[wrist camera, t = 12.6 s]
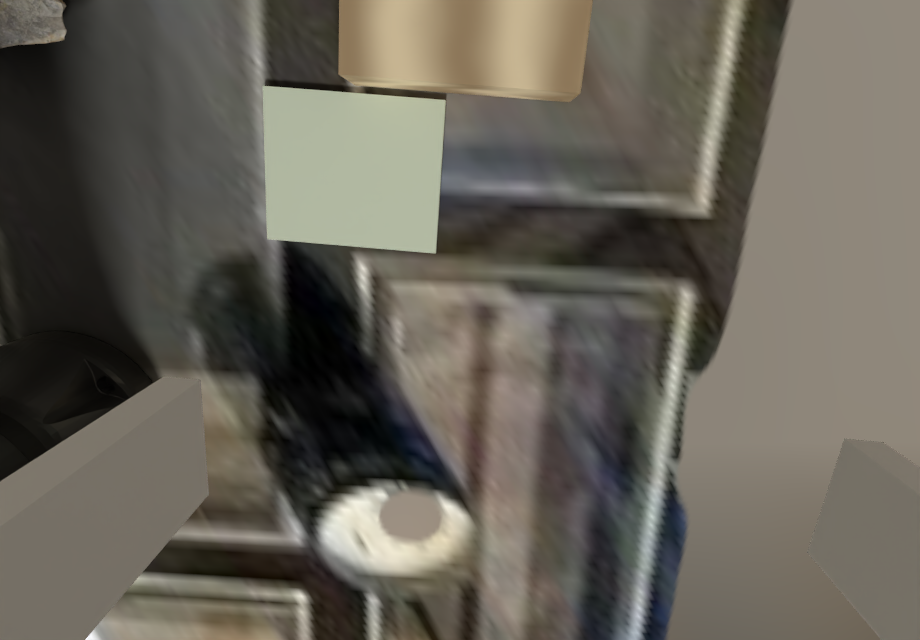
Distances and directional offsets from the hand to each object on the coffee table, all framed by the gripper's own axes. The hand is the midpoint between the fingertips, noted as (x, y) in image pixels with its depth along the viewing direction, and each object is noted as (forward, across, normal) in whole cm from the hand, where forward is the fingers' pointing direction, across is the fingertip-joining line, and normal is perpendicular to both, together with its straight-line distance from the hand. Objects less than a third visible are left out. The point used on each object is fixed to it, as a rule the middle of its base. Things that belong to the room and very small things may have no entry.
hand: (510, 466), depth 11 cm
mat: (+27, -10, +5) cm, 29 cm away
